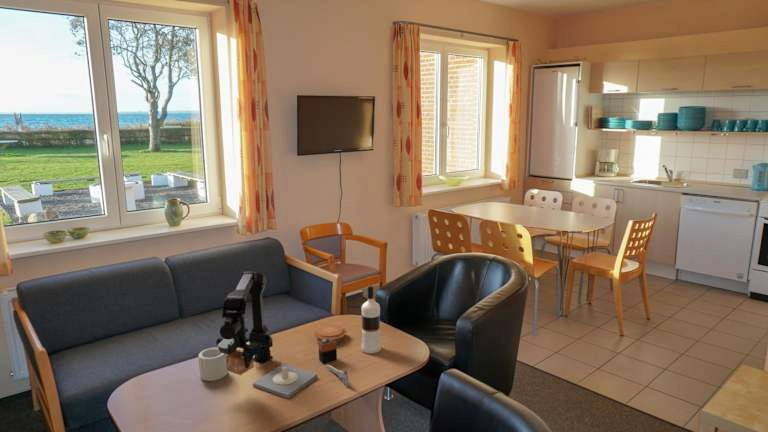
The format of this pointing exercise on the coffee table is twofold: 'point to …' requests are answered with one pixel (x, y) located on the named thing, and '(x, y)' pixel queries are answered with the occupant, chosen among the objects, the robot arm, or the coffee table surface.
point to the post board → (285, 380)
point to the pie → (330, 333)
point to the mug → (212, 364)
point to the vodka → (371, 325)
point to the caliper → (341, 374)
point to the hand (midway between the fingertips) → (240, 365)
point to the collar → (237, 362)
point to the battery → (327, 350)
